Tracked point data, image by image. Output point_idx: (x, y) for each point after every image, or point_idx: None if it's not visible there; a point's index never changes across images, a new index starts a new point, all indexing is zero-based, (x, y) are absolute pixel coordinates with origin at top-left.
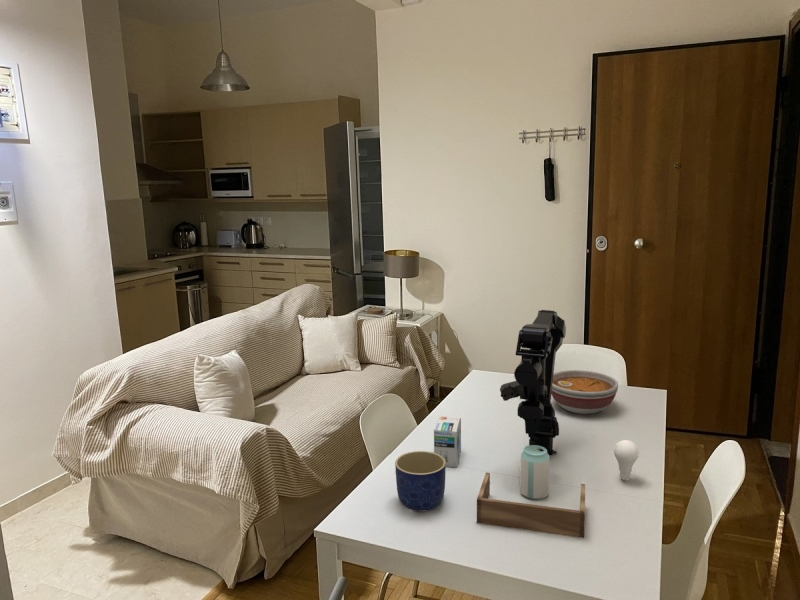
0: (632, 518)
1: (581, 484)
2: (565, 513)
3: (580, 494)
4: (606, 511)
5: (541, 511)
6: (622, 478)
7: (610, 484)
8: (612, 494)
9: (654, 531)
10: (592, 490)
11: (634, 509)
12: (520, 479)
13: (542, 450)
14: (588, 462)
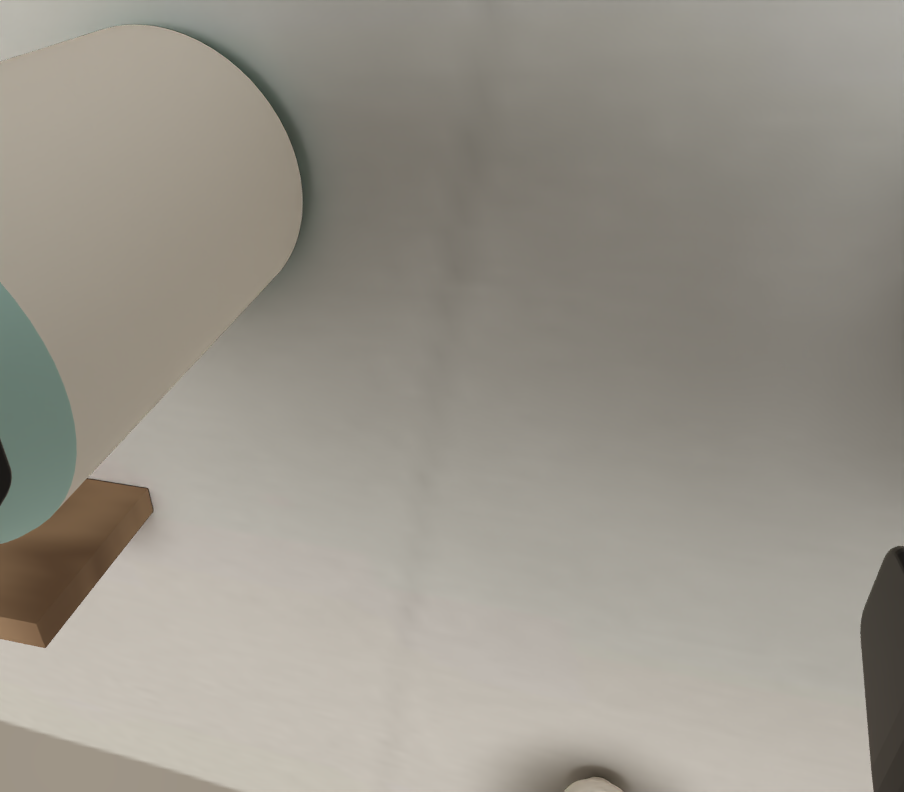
0: (149, 698)
1: (25, 624)
2: None
3: (76, 555)
4: (159, 609)
5: None
6: (570, 787)
7: (516, 702)
8: (379, 681)
9: (80, 740)
10: (397, 593)
11: (245, 728)
12: (20, 55)
13: (29, 498)
14: None
